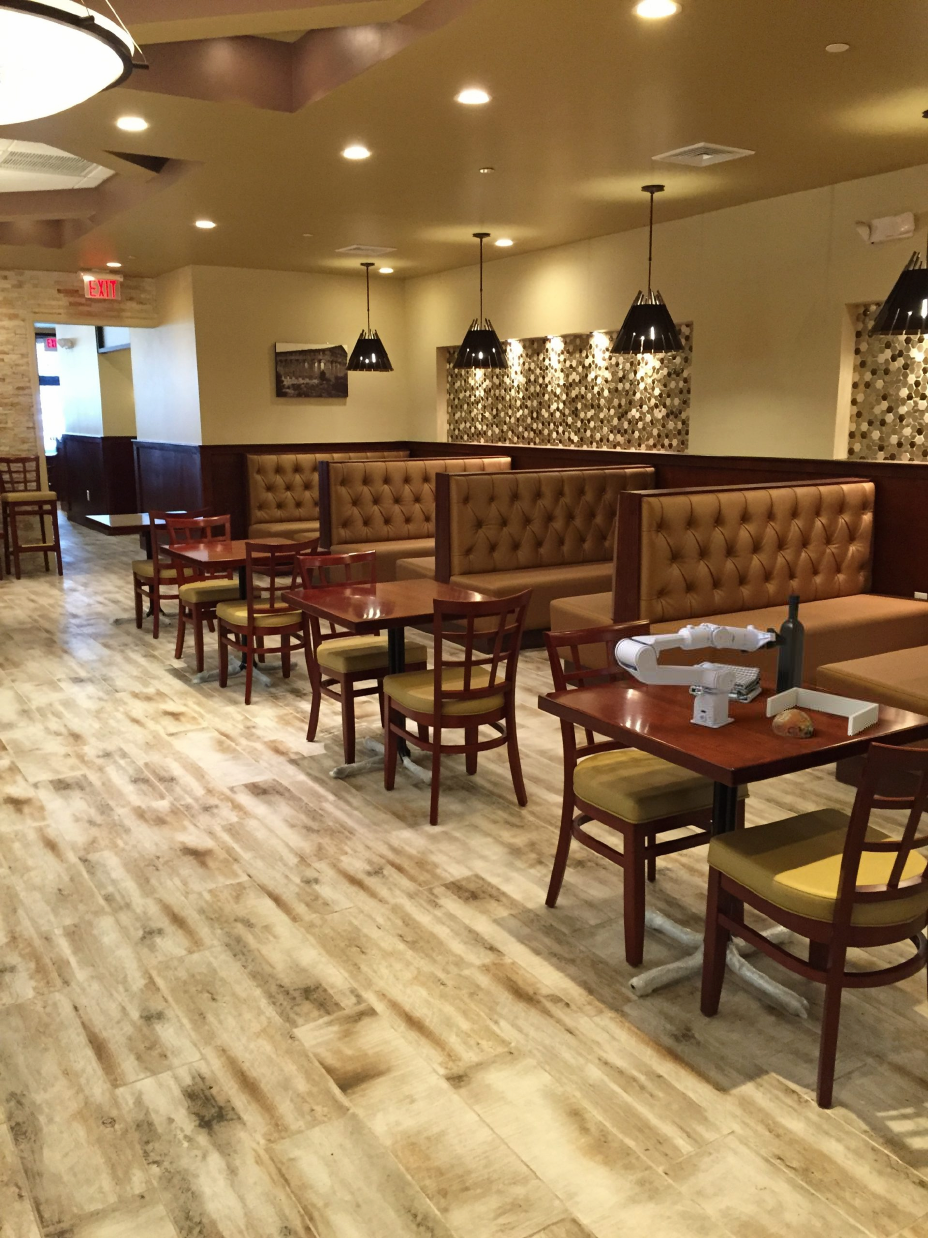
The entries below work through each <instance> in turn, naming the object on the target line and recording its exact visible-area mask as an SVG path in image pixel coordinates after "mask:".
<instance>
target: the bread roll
mask: <svg viewBox="0 0 928 1238" xmlns="http://www.w3.org/2000/svg"><path fill="white" fill-rule="evenodd" d="M771 728H772V731H773V732H774V734H777V735H779V736H781V737H784V738H789V739H806V738H809V737H810V736H812V733H813V731H814V724H813V722H812V720H811V718H810V717H809V715H808V714H807V713H806V712H804V711H801V710H800V709H795V708H793V709H791V708H790V709H787V710H785V711H782V712H780V713H778V714H776V716H775V717H774V719H773V720H772V725H771Z"/></svg>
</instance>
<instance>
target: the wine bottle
mask: <svg viewBox="0 0 928 1238" xmlns="http://www.w3.org/2000/svg"><path fill="white" fill-rule="evenodd" d="M800 597H801V595H800V594H796V593H792V594H788V615H787V616H788V617H787V619H785V621H783V622H782V624H781V625H780V627H779V632H778V634H780V635H782V636H784V637H786V643H787V644H786V645H782V646H778V652H777V667H776V682H775V684H776V685H775V694H776V695H778V694H780V693H783V692H785V691H788V690H790V689H792V688H795V687H796V688H801V689H802V679H803V678H802V676H803V666H804V665H803V663H804V652H805V651H804V649H805V648H804V647H805V635H806V629H805V626H804V625H803V623H802V622H801V620H799V610H800V609H799V606H800V599H801V598H800Z"/></svg>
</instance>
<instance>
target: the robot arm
mask: <svg viewBox="0 0 928 1238" xmlns="http://www.w3.org/2000/svg"><path fill="white" fill-rule="evenodd" d="M786 644H787V643H786V637H784V636H782V635H780V634H779V632H777V631H776V630H775V628H772V627H768V628H766V632H765V631H762V630H758V629H755V626H754V625H753V624H752V625H751V624H750V625H747V627H746V628H744V627H743V628H742V627H733V626H724V625H721V626H720V625H718V624H714V623H710V622H702V623H701V624H699V625H698V626H694V625H692V624H688V625H686V627H683V628H681V629H680V630H679V631H678V633H669V634H667V633H666V634H654V635H653V634H652V635H640V636H633V637H631V638H622V639H621V640H619V641H618V642H617V644H616V646H615V650H614V654H615V655H614V656H615V659H616V660H617V663H618V664H619V665H620V666H621V667H622V668H623V669H625V670H626V671H628V672H629V673H630V674H631V675H632V676H634V678H636V680H638V681H640V682H641V683H644V684H647V685H662V686H663V685H666V686H673V685H674V686H693V685H700V687H701V688H702V689H701V693H700V694H699V695H698V696H696V697H695V699H694V702H693V703H694V704H693V718H692V719H691V720H690V723H693V724H697V725H700V726H706V727H710V728H713V729H718V728H720V727H722V726H725V725H727V724H730V723H732V722H734V721H735V719H734V718H731V717H729V701H730V700H729V692H731V689H732V688H733V687H734V685H735V682H736V675H735V673H734V671H733V670H731V669H726V668H723V667H720V666H717V665H714V664H713V663H712V662H709V661H704V662H702V663H700V664H694V665H693V666H687V665H686V666H684V665H682V666H681V665H658V663H657V659H658V658H659V656H660V651H662V650H668V649H672V648H677V647H680V648H681V649H682V650H686V651H688V650H695V649H701V648H702V649H703V648H707V647H709V646H710V647H713V648H716V649H722V648H726V649H727V648H728V649H736V650H740V653H742V654H746V653H749V652H755V651H758V650H764V649H765V650H769V649H770V650H771V649H774V648H776V647H779V646H782V645H786Z"/></svg>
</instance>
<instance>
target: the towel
mask: <svg viewBox="0 0 928 1238" xmlns="http://www.w3.org/2000/svg"><path fill="white" fill-rule="evenodd" d="M712 664H714V665H717V666H720V667H723V668H726V669H731V670H733V671H734V673H735V675H736V682H735V685H734V687H733V688H732V689H731V692H729V700H728V701H732V702H733V701H734V702H739V703H746V704H747V703H750V702H751V701H752V699H754V698H755V697H757V696H758V695H759V694H760V693H762V691H763V689H762V687H760V686H759V685H761V681H762V677H761V676H760V675H759V674H761V669H760V668H759V667H747V666H739V665H734V664H733V665H731V664H726V663H725V664H723V663H717V662H715V663H712ZM701 689H702V688H701V687H700V685H690V688H689V691H688V693H689V694H691V695H693V696H696V697H697V696H698V695H699V694H700V693H701Z"/></svg>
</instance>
